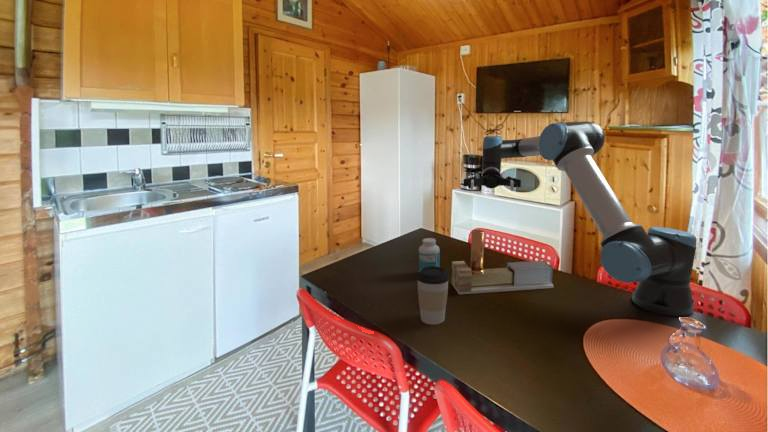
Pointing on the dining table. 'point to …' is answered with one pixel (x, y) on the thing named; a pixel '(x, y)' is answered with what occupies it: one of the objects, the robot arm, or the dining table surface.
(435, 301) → the coffee cup
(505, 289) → the bed
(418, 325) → the dining table surface
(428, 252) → the pill bottle
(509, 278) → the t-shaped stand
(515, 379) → the dining table surface
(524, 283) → the sleeve
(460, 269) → the socket
